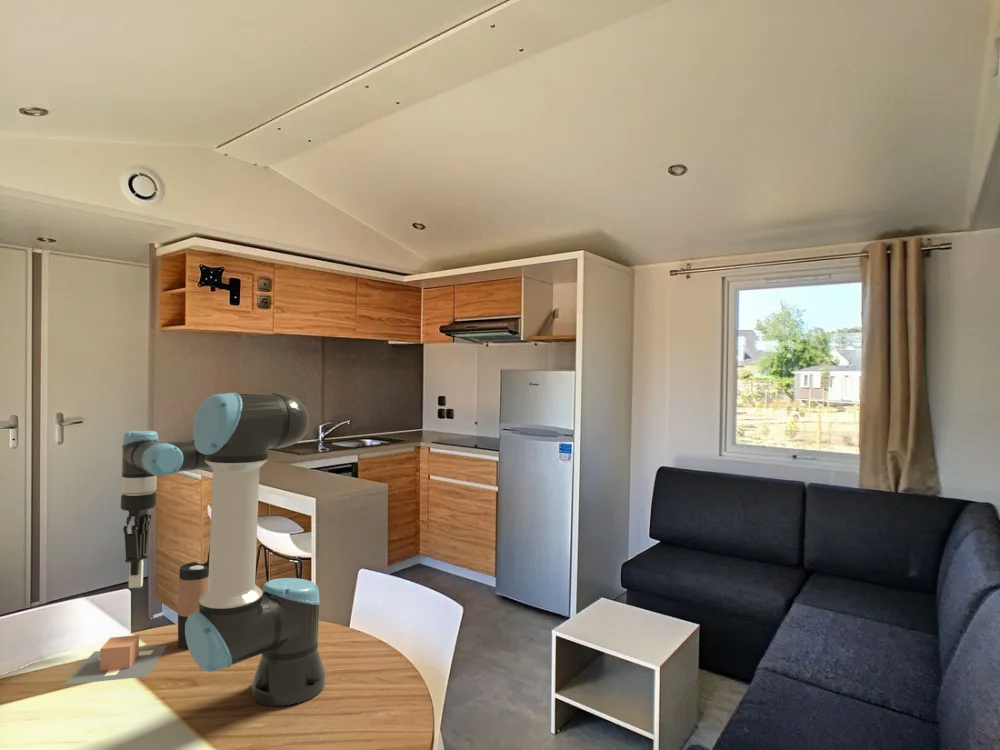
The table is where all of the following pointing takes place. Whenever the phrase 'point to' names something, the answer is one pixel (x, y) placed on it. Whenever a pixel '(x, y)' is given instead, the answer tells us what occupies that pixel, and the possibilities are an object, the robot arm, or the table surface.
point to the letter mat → (138, 669)
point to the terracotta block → (119, 652)
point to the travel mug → (190, 594)
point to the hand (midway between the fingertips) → (135, 586)
